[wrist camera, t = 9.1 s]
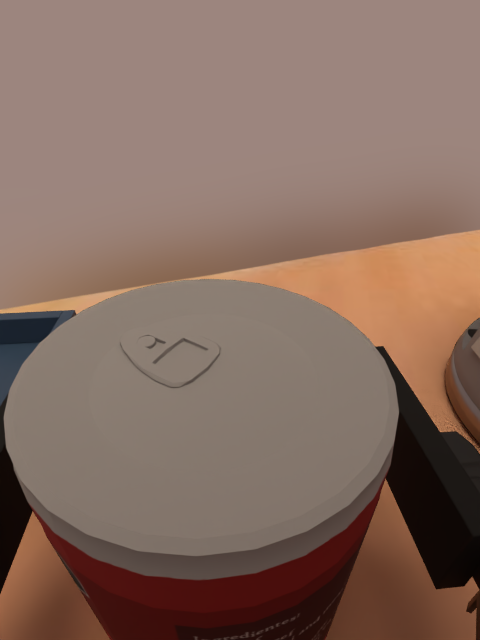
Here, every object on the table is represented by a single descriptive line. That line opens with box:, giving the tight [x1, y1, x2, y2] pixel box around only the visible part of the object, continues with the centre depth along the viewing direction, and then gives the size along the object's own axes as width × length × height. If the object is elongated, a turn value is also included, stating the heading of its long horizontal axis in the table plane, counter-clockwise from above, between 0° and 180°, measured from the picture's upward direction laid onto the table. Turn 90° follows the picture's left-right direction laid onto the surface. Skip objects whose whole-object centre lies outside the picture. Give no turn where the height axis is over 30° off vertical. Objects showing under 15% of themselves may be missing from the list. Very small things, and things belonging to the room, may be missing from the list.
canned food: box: [4, 279, 399, 640], centre depth 11 cm, size 8×8×11 cm
